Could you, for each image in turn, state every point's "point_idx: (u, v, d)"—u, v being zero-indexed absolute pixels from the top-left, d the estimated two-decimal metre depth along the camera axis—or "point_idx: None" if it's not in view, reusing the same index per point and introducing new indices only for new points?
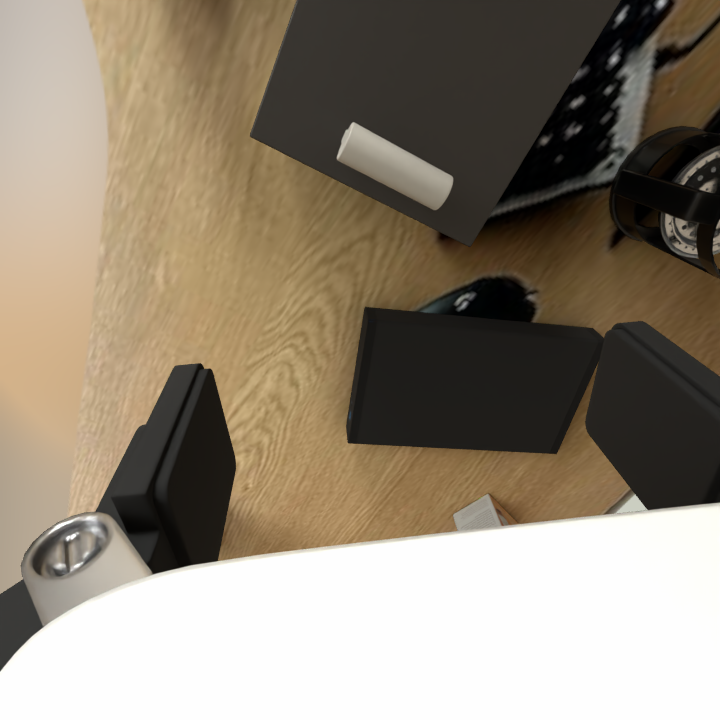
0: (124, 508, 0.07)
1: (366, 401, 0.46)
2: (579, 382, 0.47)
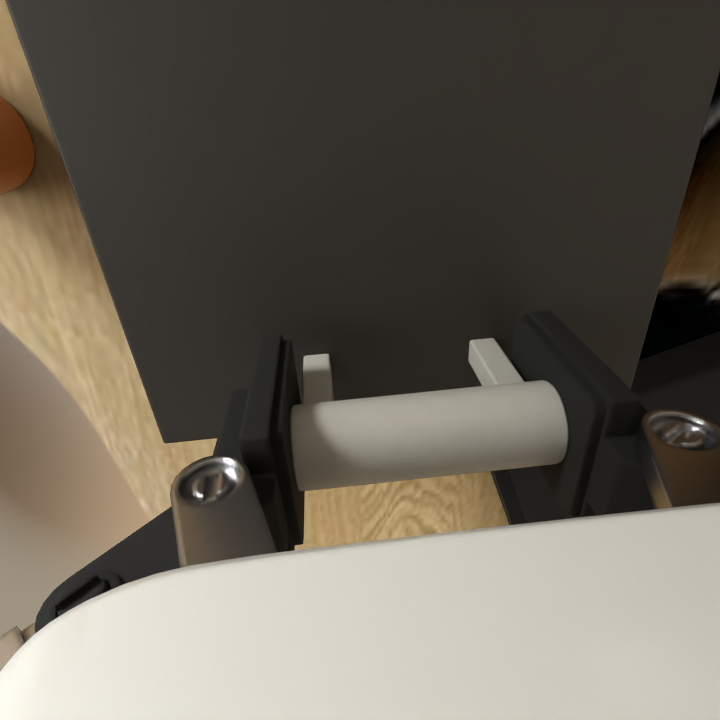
0: (248, 451, 0.08)
1: None
2: None
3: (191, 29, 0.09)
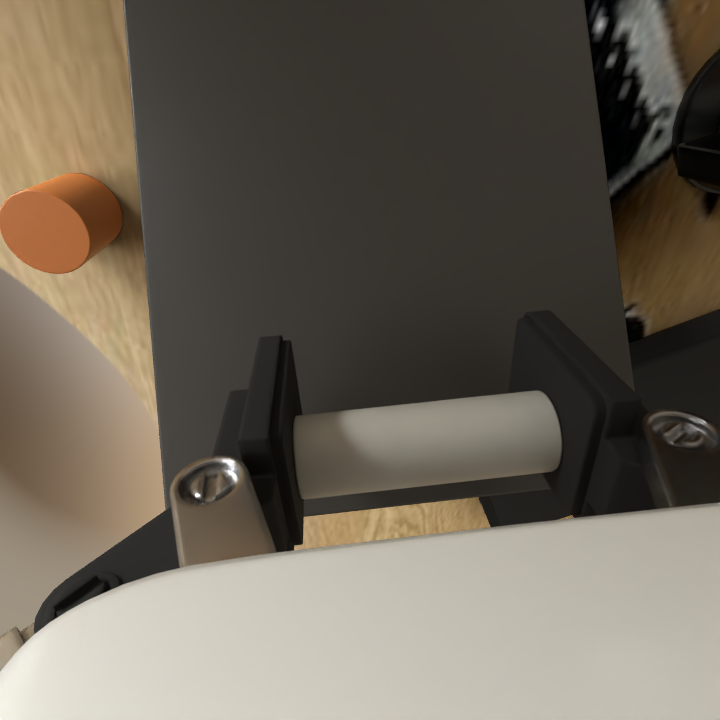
0: (247, 451, 0.08)
1: (494, 499, 0.41)
2: None
3: (247, 184, 0.14)
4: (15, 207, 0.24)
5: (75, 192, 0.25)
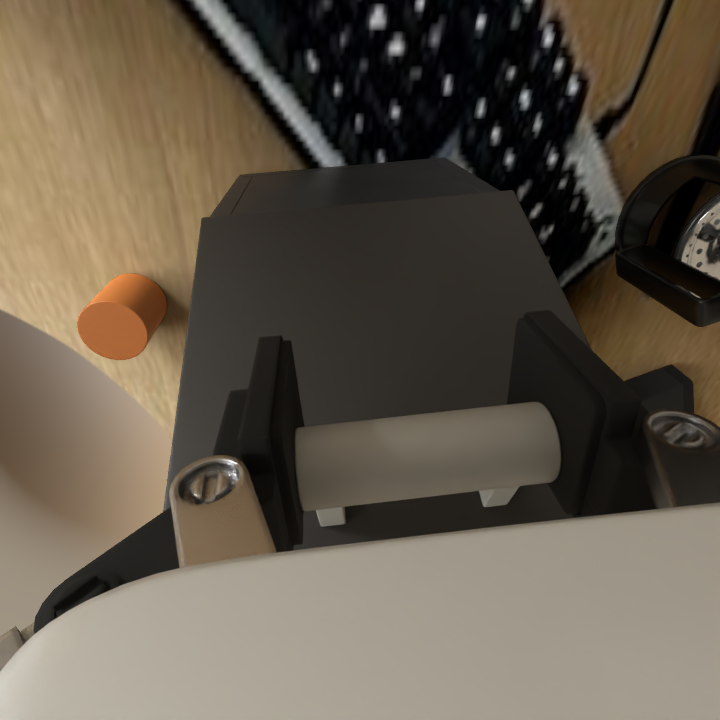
0: (247, 451, 0.08)
1: None
2: None
3: (274, 312, 0.17)
4: (91, 313, 0.30)
5: (135, 296, 0.32)
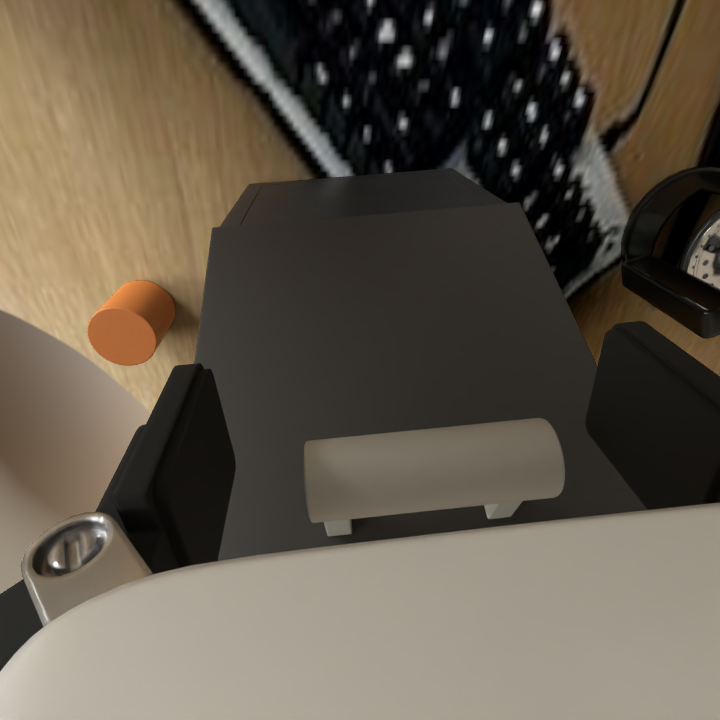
0: (124, 508, 0.07)
1: None
2: None
3: (283, 323, 0.18)
4: (101, 319, 0.31)
5: (144, 303, 0.32)
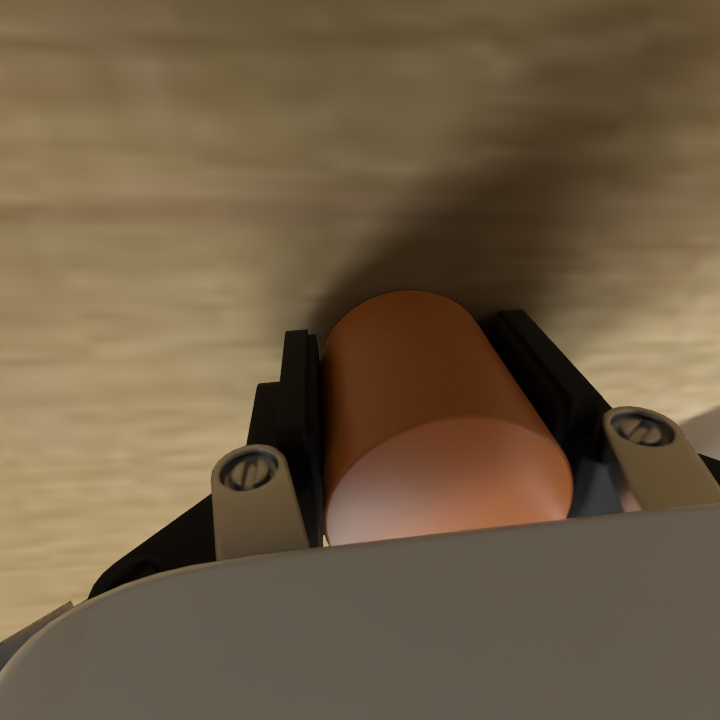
0: (284, 441, 0.08)
1: None
2: None
3: None
4: None
5: (343, 402, 0.09)
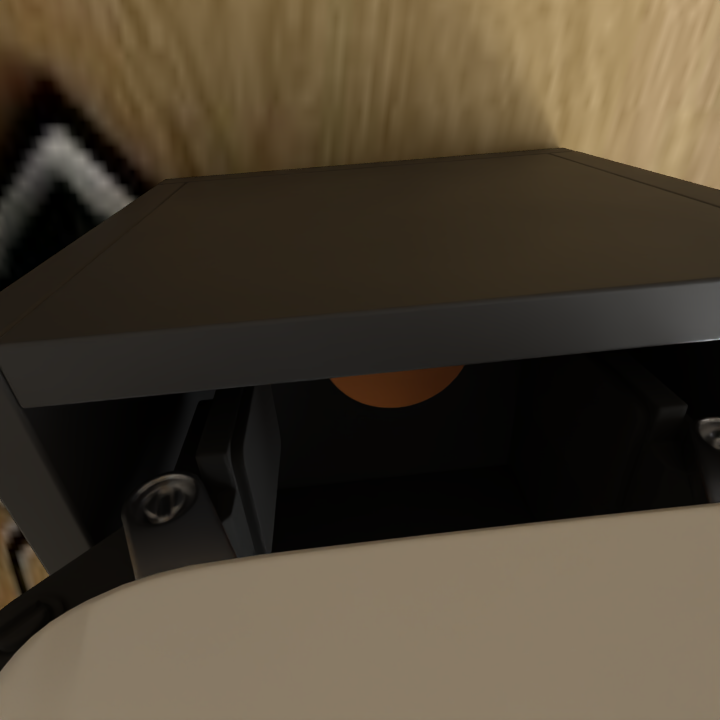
0: (206, 467, 0.08)
1: None
2: None
3: None
4: (348, 377, 0.14)
5: None
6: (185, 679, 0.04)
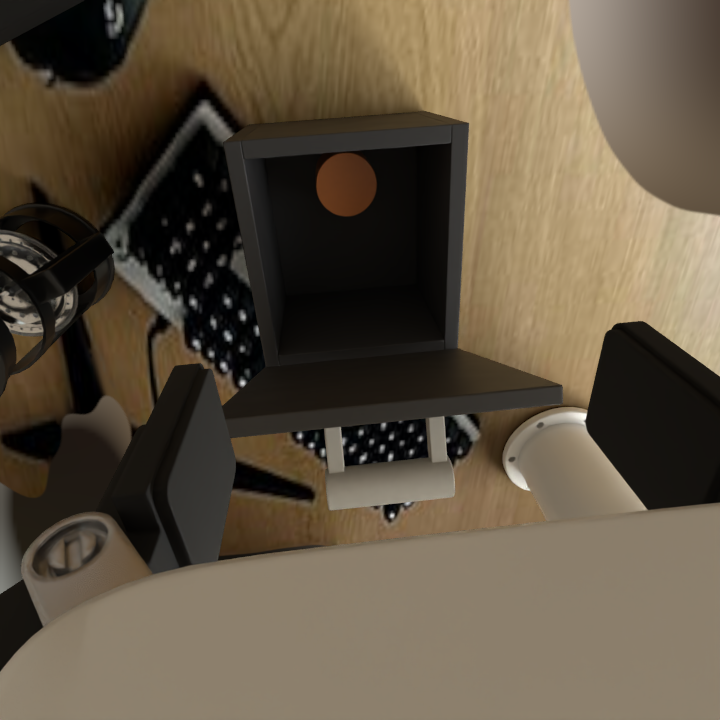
0: (124, 508, 0.07)
1: None
2: None
3: None
4: (327, 200, 0.34)
5: (321, 162, 0.34)
6: (185, 679, 0.04)
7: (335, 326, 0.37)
